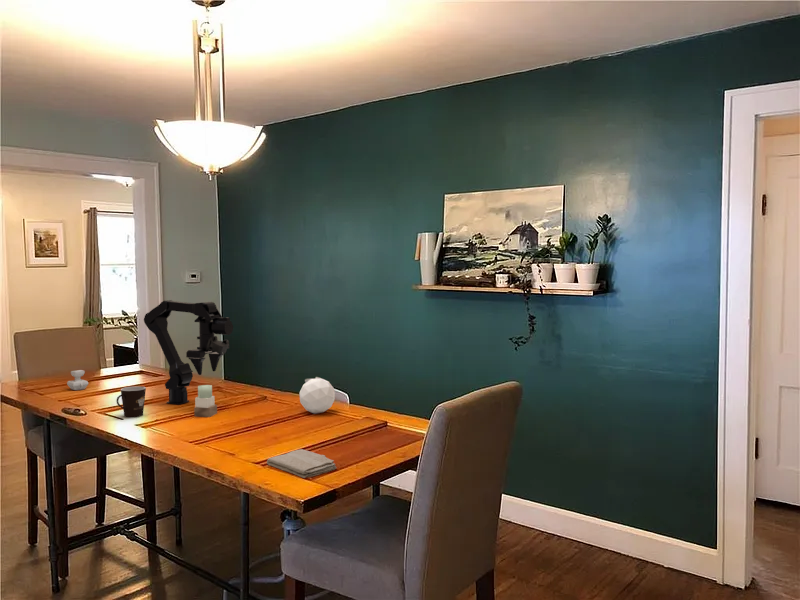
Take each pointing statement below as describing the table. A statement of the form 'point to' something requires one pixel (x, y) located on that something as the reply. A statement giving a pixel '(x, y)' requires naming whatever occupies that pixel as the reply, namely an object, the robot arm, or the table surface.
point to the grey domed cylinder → (205, 391)
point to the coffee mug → (132, 401)
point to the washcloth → (302, 463)
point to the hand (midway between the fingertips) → (207, 373)
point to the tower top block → (205, 402)
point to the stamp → (77, 380)
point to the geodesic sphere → (317, 395)
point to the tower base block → (205, 411)
